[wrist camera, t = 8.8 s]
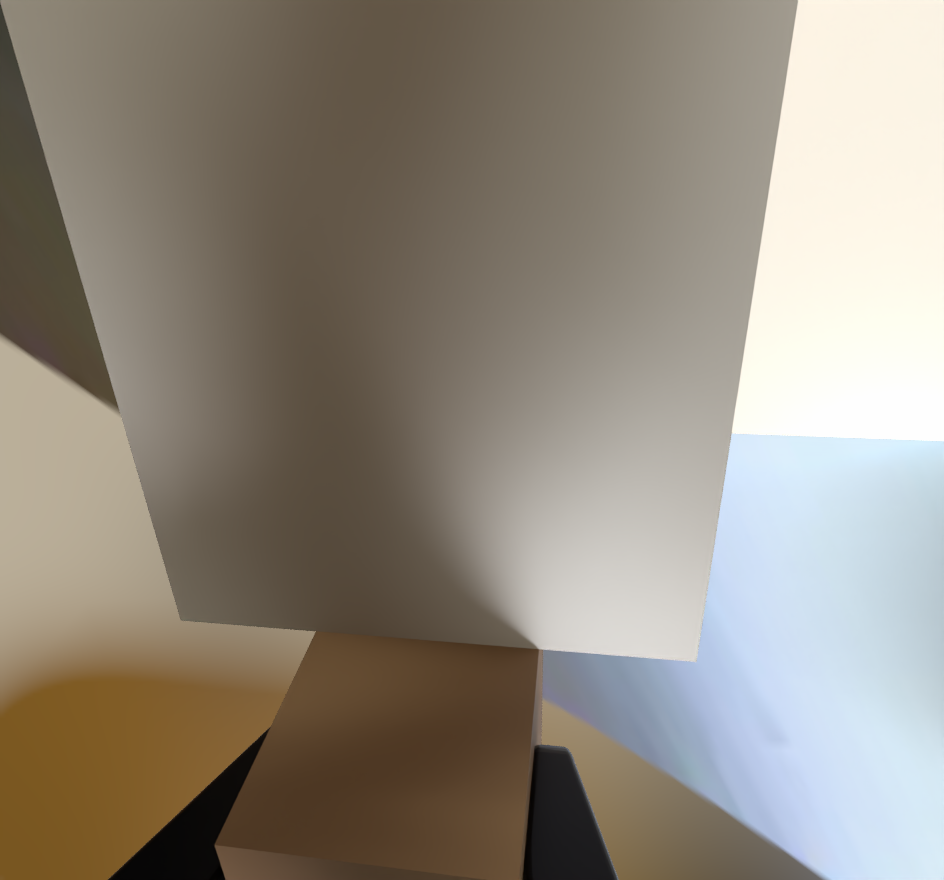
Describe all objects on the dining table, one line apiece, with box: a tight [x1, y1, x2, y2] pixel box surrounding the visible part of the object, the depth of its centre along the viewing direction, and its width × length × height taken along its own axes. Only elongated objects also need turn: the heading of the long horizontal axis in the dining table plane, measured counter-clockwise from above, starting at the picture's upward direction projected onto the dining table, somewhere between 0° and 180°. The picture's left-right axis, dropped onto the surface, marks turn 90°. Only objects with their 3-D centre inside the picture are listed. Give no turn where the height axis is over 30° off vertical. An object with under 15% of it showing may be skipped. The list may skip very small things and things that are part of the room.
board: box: [732, 0, 944, 441], centre depth 13 cm, size 19×17×1 cm
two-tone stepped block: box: [0, 0, 798, 880], centre depth 8 cm, size 6×15×4 cm, turn 2°
